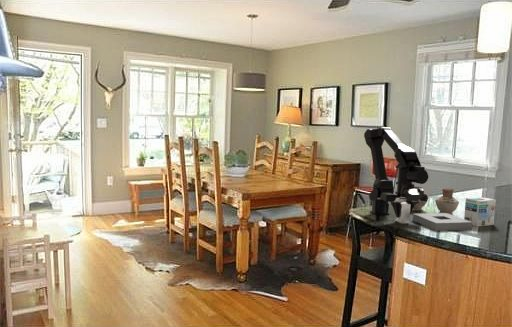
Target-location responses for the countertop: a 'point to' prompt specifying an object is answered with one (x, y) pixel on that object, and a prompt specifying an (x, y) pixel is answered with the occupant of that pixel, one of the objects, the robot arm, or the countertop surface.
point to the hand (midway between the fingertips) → (402, 217)
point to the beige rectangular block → (404, 213)
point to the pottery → (441, 201)
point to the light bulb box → (480, 211)
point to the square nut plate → (442, 221)
